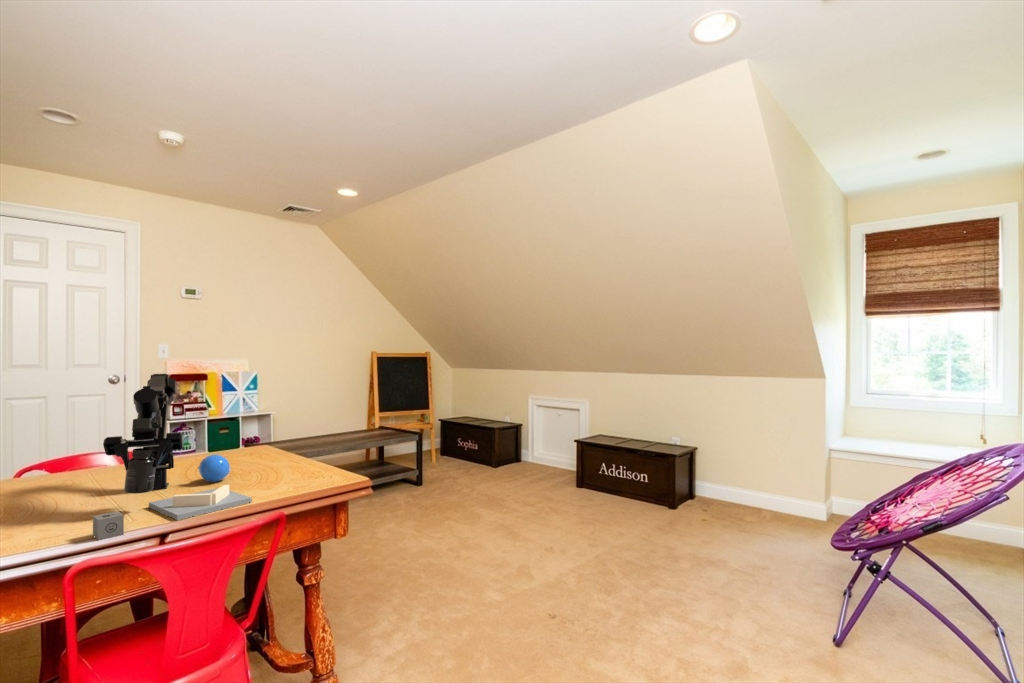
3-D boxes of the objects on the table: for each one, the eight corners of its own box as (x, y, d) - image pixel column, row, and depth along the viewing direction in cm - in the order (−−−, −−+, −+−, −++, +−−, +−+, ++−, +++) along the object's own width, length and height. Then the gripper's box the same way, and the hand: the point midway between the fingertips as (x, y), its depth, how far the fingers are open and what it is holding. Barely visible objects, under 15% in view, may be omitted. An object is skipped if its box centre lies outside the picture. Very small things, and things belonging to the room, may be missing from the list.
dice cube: (92, 536, 125) (93, 516, 126) (117, 530, 129) (117, 511, 129) (98, 541, 122) (98, 520, 122) (123, 535, 126) (123, 514, 126)
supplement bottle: (155, 492, 145) (160, 450, 146) (126, 495, 140) (130, 451, 141) (150, 487, 150) (154, 446, 151) (121, 490, 145) (125, 448, 146)
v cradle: (148, 507, 148) (148, 492, 148) (220, 492, 164) (220, 478, 165) (177, 520, 137) (177, 503, 137) (251, 502, 153) (251, 487, 153)
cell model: (235, 476, 186) (235, 450, 186) (225, 484, 174) (225, 456, 175) (204, 478, 183) (204, 451, 184) (193, 486, 172) (193, 458, 172)
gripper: (104, 409, 145) (94, 455, 135) (182, 405, 154) (178, 448, 144) (111, 432, 152) (101, 477, 142) (184, 427, 160) (180, 470, 151)
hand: (141, 468), depth 144 cm, fingers closed on supplement bottle, 6 cm apart
